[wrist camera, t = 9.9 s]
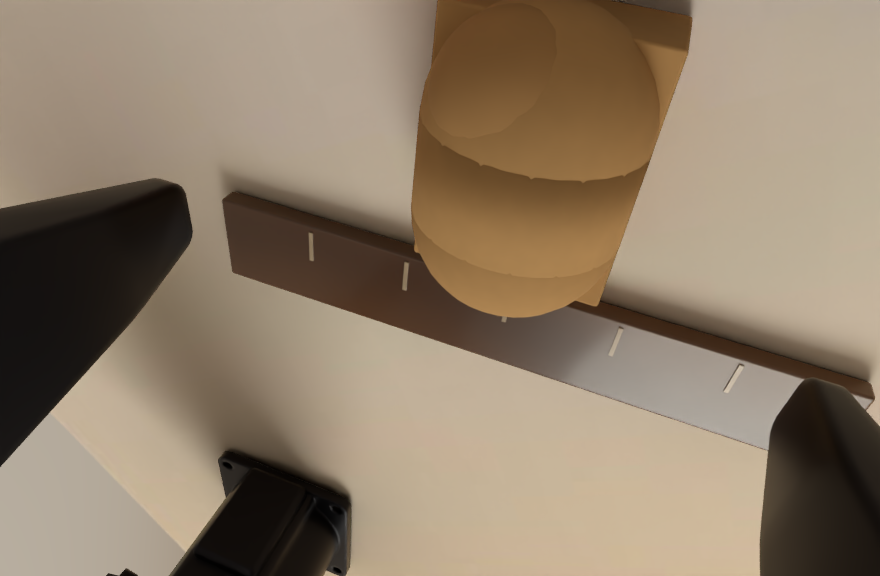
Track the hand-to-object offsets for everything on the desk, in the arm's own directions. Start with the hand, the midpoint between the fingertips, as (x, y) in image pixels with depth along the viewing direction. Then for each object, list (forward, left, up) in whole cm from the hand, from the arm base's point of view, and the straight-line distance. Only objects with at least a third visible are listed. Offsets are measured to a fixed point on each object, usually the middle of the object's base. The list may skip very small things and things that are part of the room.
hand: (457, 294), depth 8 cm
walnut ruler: (-6, 0, -7) cm, 9 cm away
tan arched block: (0, 0, -7) cm, 7 cm away
